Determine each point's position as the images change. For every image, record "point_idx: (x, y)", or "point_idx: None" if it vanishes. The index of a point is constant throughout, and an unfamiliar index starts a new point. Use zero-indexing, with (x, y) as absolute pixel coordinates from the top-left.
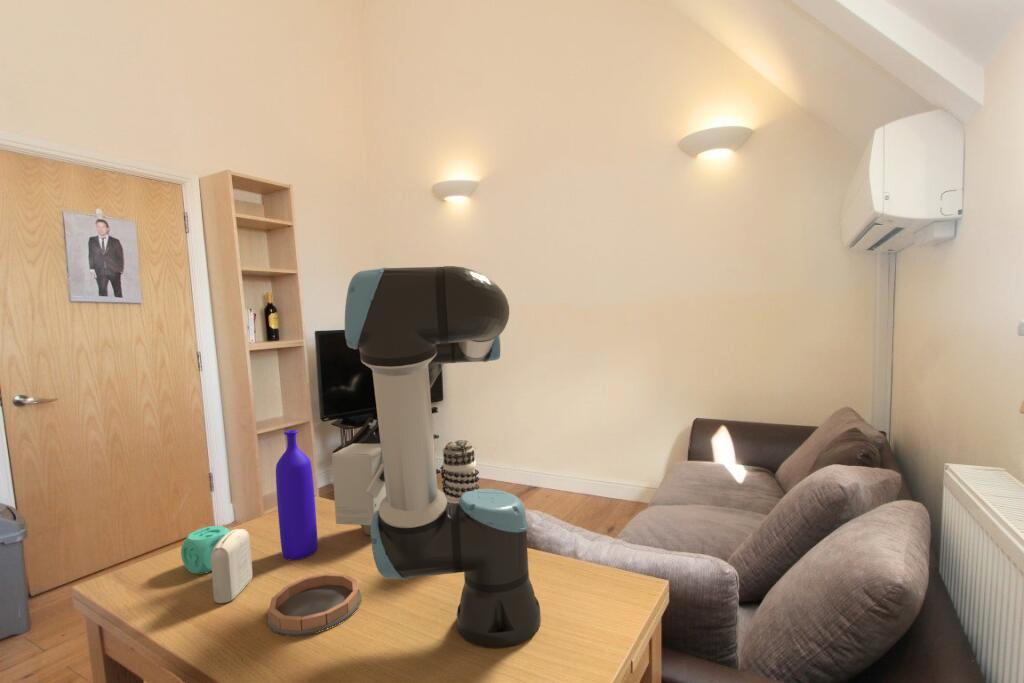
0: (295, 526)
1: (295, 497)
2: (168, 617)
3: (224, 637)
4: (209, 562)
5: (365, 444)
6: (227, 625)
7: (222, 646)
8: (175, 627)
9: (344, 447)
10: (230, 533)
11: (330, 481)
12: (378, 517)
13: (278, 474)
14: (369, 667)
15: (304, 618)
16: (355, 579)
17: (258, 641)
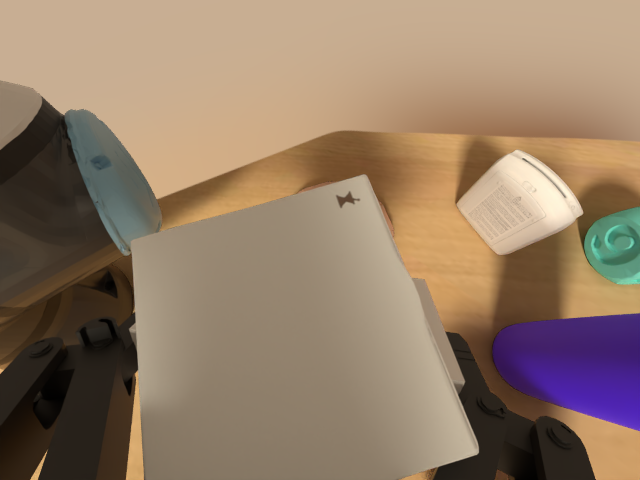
0: (542, 330)
1: (607, 333)
2: (489, 157)
3: (384, 162)
4: (596, 232)
5: (334, 455)
6: (404, 175)
7: (370, 154)
8: (457, 151)
9: (571, 455)
10: (554, 182)
11: (422, 280)
12: (65, 116)
13: None
14: (196, 192)
15: (300, 192)
16: None
17: (341, 173)
